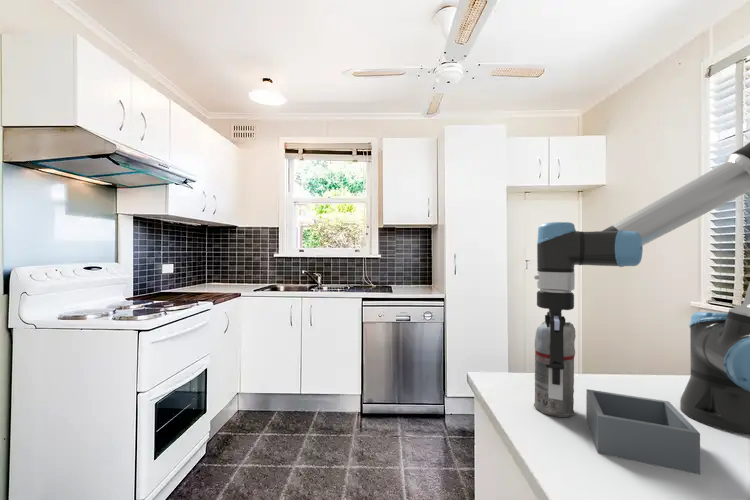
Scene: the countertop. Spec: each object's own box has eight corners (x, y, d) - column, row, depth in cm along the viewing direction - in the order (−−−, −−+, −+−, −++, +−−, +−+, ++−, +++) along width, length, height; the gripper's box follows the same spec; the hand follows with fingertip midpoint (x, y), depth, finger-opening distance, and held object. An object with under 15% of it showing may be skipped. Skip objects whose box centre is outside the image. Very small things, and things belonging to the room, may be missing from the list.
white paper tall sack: (581, 421, 74) (581, 326, 74) (539, 416, 75) (540, 323, 76) (567, 404, 82) (568, 319, 83) (530, 401, 84) (531, 317, 84)
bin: (668, 434, 69) (668, 401, 69) (700, 474, 56) (700, 433, 56) (586, 419, 74) (586, 389, 75) (597, 452, 62) (598, 415, 62)
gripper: (536, 286, 90) (535, 374, 90) (537, 293, 71) (536, 405, 71) (569, 288, 87) (568, 379, 87) (580, 296, 68) (579, 413, 68)
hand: (554, 391), depth 79 cm, fingers closed on white paper tall sack, 8 cm apart
